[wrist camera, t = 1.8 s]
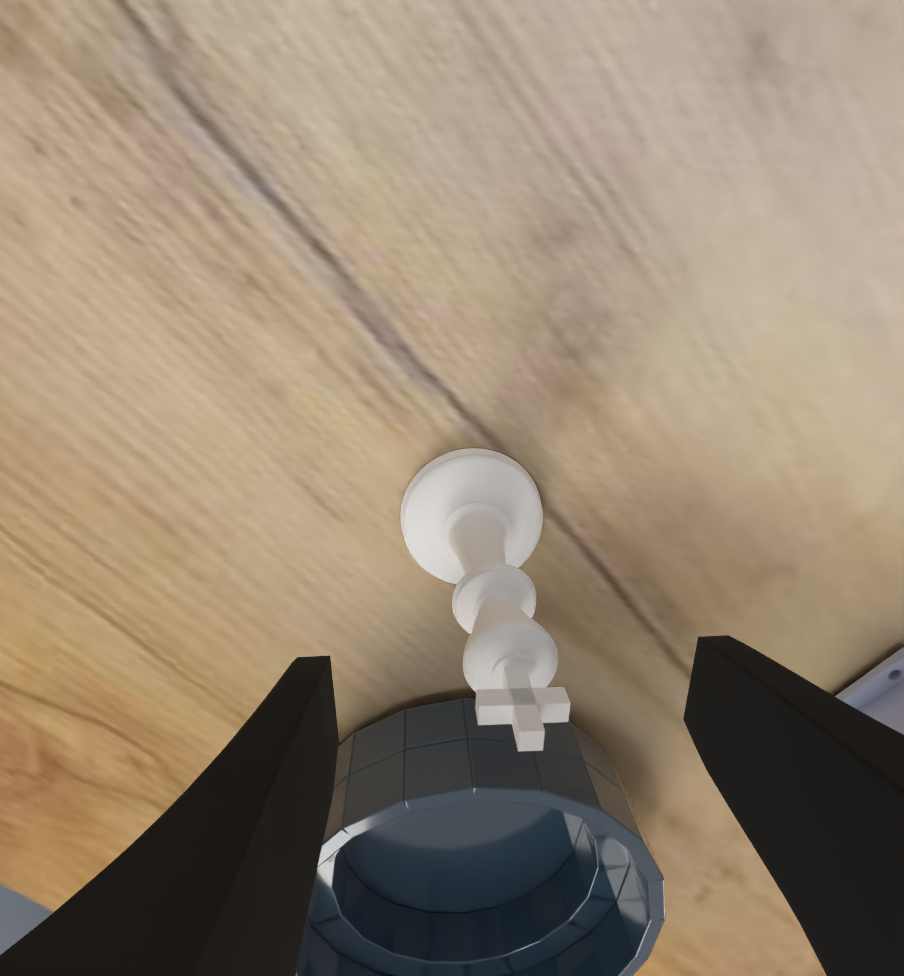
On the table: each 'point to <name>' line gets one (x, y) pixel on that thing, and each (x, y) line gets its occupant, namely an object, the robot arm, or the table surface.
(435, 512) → the chess piece
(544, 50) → the table surface
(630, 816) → the bowl
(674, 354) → the table surface
